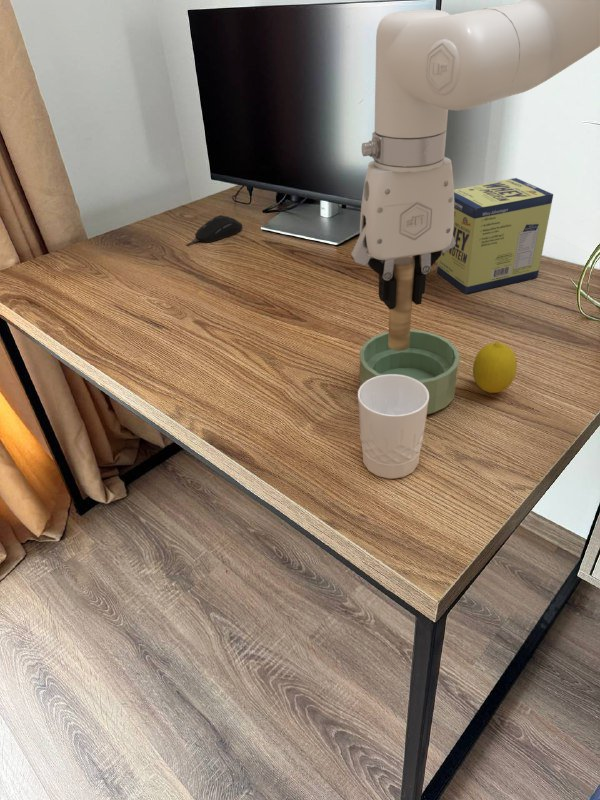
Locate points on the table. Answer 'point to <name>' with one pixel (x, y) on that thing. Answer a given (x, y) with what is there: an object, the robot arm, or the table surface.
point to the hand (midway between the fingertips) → (401, 300)
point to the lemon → (494, 367)
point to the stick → (401, 304)
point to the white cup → (392, 424)
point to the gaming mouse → (217, 229)
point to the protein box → (496, 235)
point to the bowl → (415, 364)
